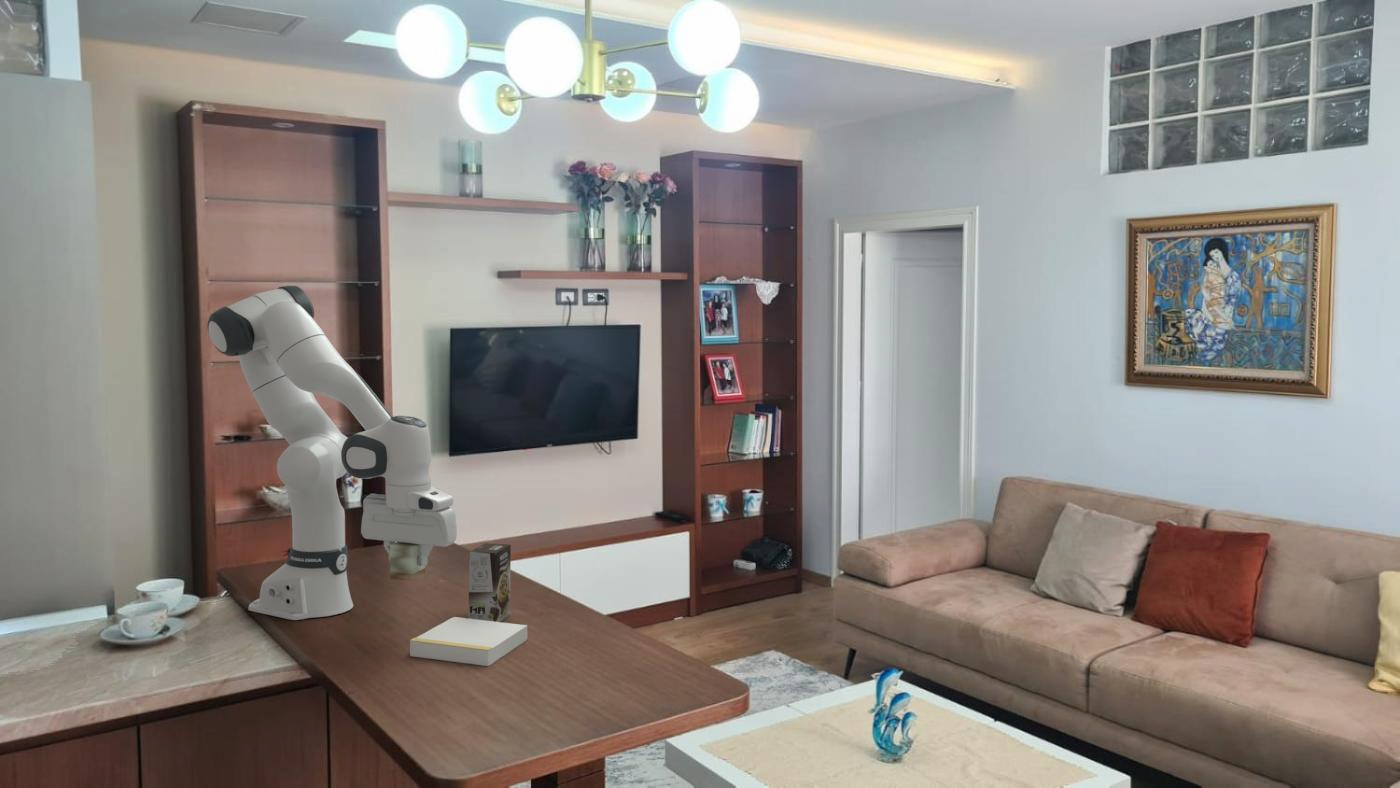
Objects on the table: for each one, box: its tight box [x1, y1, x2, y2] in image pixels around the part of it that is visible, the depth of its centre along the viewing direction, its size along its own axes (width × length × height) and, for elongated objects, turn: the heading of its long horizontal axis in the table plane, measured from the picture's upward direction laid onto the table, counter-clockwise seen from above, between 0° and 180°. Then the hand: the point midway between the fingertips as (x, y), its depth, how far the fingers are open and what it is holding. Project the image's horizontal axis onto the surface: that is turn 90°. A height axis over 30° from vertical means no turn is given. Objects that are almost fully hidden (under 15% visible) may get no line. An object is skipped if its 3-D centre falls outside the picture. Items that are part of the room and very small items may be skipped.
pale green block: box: [389, 542, 426, 582], centre depth 218 cm, size 5×5×7 cm
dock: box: [409, 616, 528, 667], centre depth 216 cm, size 17×17×3 cm
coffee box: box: [468, 542, 512, 622], centre depth 234 cm, size 9×6×16 cm
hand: (408, 563), depth 218 cm, fingers closed on pale green block, 5 cm apart
